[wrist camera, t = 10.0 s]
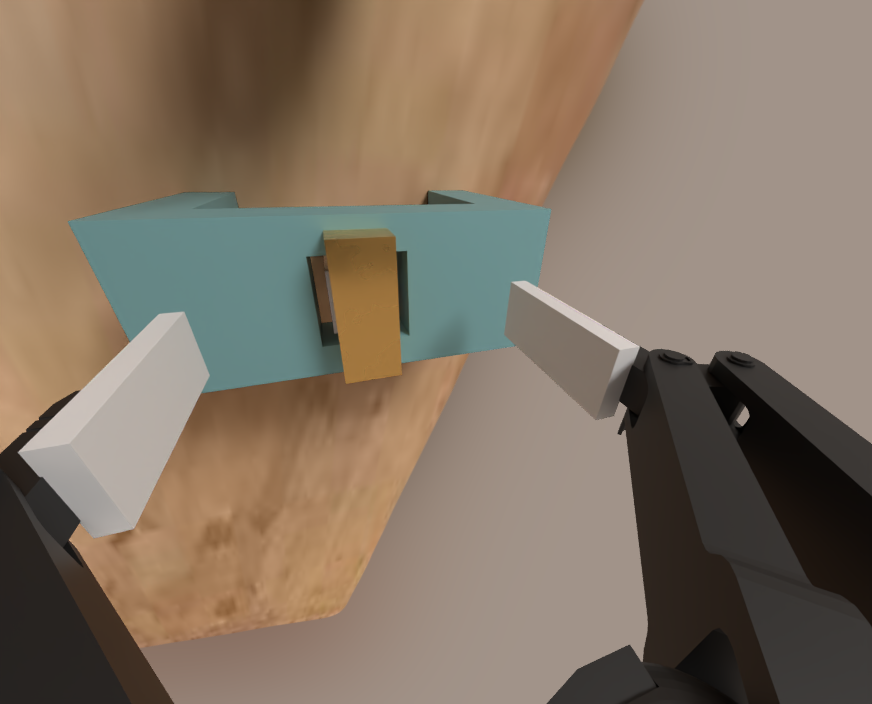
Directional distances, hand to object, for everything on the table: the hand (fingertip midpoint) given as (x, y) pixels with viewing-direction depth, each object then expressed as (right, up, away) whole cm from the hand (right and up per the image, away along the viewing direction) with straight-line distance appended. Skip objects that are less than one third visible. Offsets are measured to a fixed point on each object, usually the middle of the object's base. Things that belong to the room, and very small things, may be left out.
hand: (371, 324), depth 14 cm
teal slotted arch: (-5, +7, +13) cm, 15 cm away
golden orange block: (-5, +7, +12) cm, 15 cm away
